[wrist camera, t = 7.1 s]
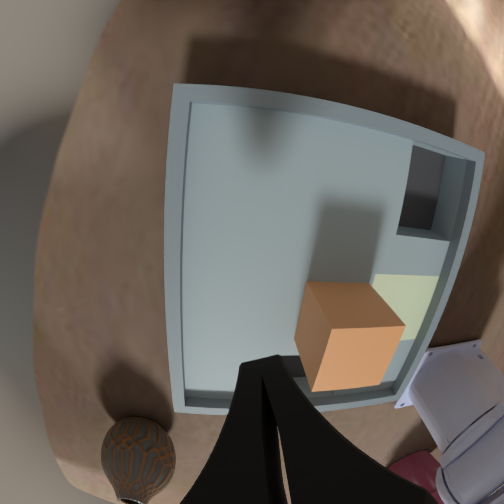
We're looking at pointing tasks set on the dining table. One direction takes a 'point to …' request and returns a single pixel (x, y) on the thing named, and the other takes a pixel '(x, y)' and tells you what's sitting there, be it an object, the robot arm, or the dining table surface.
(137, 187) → the dining table surface
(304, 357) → the block
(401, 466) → the plant pot
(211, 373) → the box
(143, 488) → the vase
